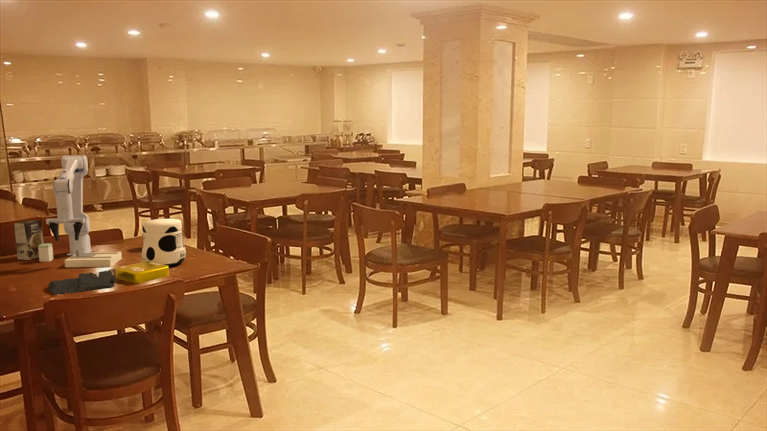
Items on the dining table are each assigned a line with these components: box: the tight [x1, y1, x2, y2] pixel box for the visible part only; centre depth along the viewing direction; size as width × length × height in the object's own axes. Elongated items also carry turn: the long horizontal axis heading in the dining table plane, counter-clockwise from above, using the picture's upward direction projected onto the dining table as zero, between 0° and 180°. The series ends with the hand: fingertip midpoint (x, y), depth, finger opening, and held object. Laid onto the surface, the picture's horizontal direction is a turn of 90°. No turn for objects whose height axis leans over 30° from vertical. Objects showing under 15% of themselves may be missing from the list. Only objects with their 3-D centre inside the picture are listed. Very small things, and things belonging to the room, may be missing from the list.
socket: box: [64, 251, 123, 268], centre depth 262 cm, size 14×18×4 cm
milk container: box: [141, 218, 187, 267], centre depth 259 cm, size 17×17×18 cm
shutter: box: [75, 248, 97, 257], centre depth 261 cm, size 6×6×3 cm
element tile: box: [115, 261, 170, 284], centre depth 240 cm, size 15×15×5 cm
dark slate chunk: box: [47, 269, 116, 296], centre depth 227 cm, size 15×22×5 cm
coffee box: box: [13, 219, 44, 261], centre depth 270 cm, size 9×6×16 cm
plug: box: [38, 242, 54, 263], centre depth 266 cm, size 4×4×7 cm
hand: (67, 240), depth 259 cm, fingers open, 7 cm apart
